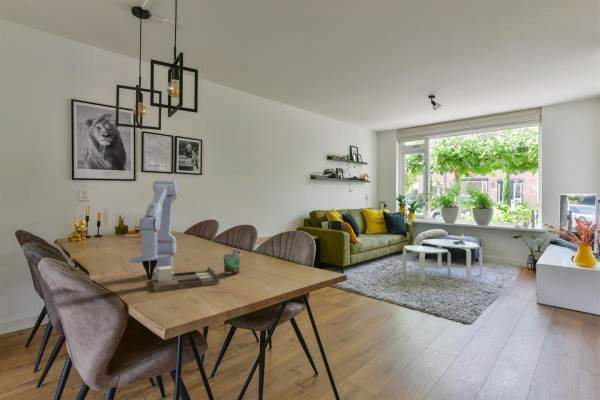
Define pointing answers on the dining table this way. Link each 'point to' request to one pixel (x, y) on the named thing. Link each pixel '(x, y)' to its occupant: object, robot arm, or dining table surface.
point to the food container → (232, 263)
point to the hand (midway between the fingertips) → (149, 279)
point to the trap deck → (186, 280)
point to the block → (164, 273)
